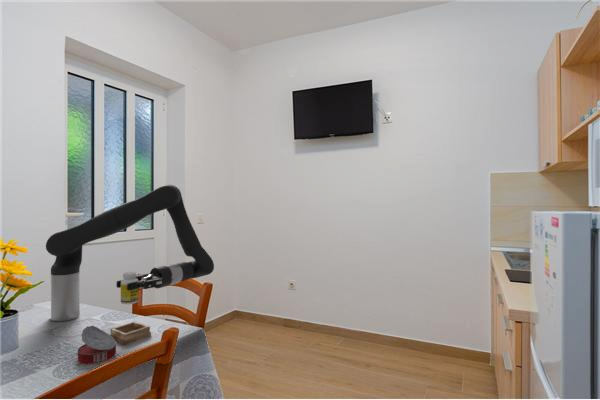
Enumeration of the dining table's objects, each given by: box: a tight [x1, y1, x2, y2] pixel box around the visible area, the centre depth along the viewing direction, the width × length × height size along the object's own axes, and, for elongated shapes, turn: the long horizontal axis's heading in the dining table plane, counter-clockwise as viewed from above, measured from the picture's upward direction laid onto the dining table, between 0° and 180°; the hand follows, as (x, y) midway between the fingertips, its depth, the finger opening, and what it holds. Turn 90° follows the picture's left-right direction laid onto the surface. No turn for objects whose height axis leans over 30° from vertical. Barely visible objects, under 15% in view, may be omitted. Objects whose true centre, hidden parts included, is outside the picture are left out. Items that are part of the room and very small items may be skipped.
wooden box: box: [109, 320, 152, 346], centre depth 118 cm, size 9×9×3 cm
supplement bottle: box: [120, 271, 140, 305], centre depth 118 cm, size 5×5×10 cm
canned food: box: [77, 325, 117, 365], centre depth 105 cm, size 11×10×10 cm
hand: (122, 285), depth 116 cm, fingers closed on supplement bottle, 5 cm apart
